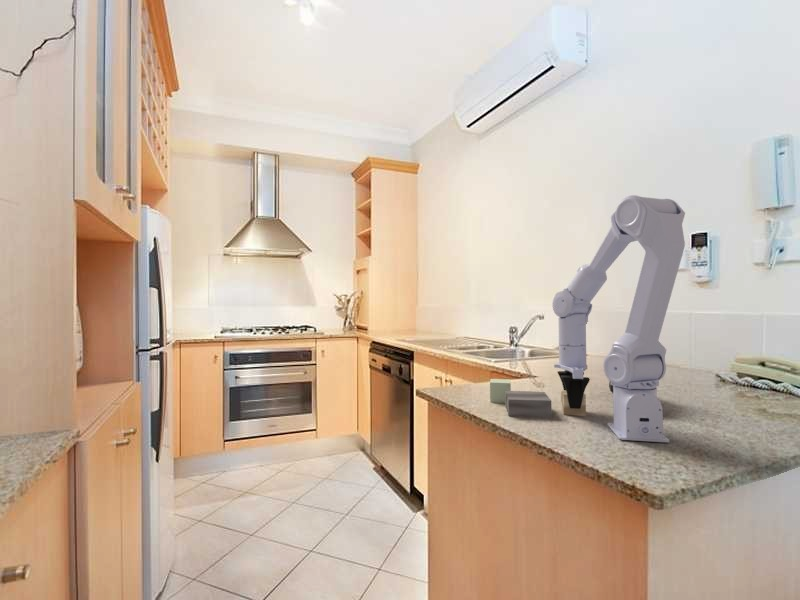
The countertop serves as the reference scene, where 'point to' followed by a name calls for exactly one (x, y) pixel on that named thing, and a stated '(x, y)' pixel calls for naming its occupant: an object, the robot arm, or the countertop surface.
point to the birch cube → (572, 411)
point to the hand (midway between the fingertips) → (573, 405)
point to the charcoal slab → (528, 404)
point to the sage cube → (499, 389)
